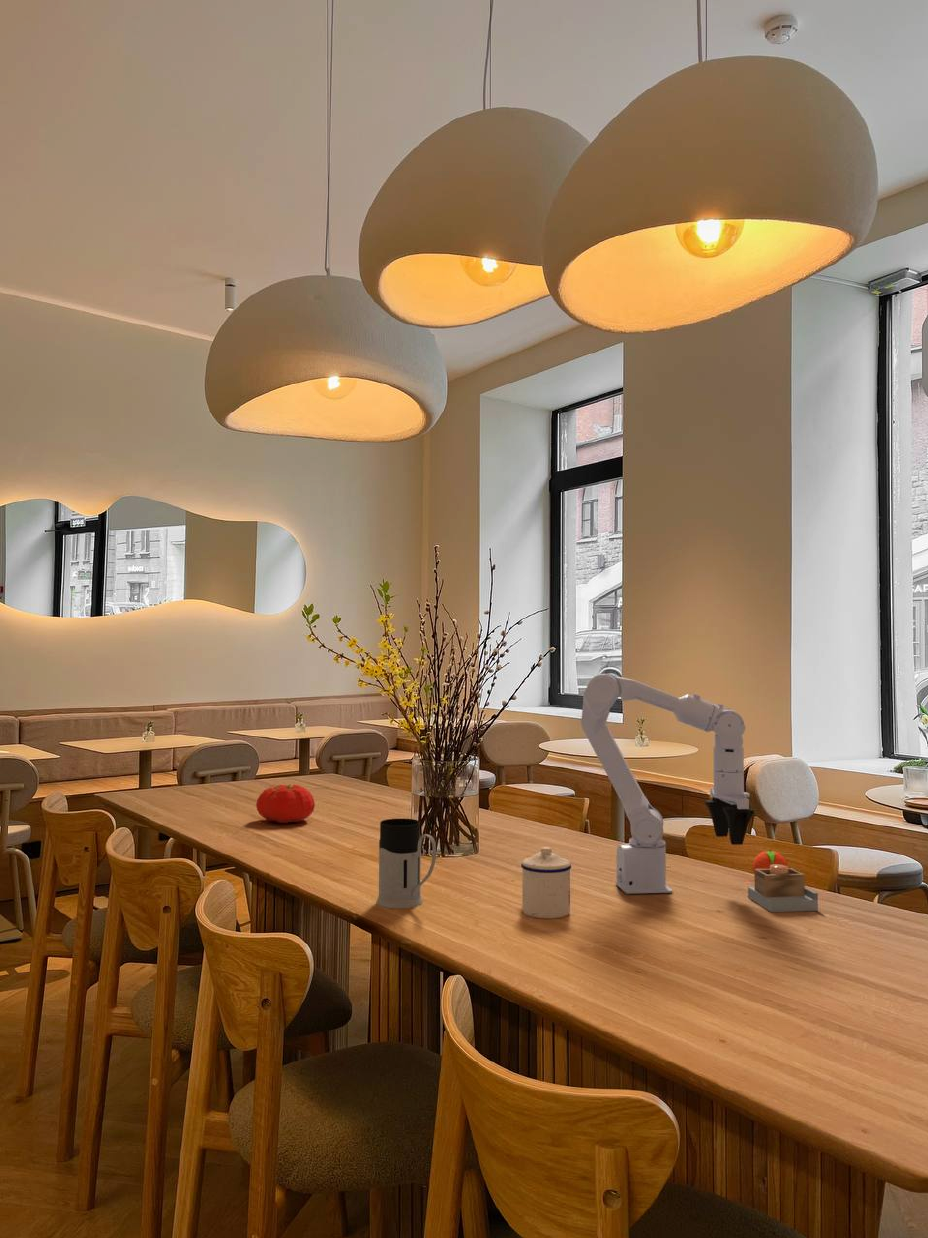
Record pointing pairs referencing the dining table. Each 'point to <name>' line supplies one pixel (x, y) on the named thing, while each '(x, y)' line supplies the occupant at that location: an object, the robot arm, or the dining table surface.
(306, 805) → the tomato
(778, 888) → the open wooden crate
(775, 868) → the ball
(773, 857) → the red fruit
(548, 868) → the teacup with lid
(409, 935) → the dining table surface
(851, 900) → the dining table surface
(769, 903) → the dock
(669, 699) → the robot arm
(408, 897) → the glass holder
